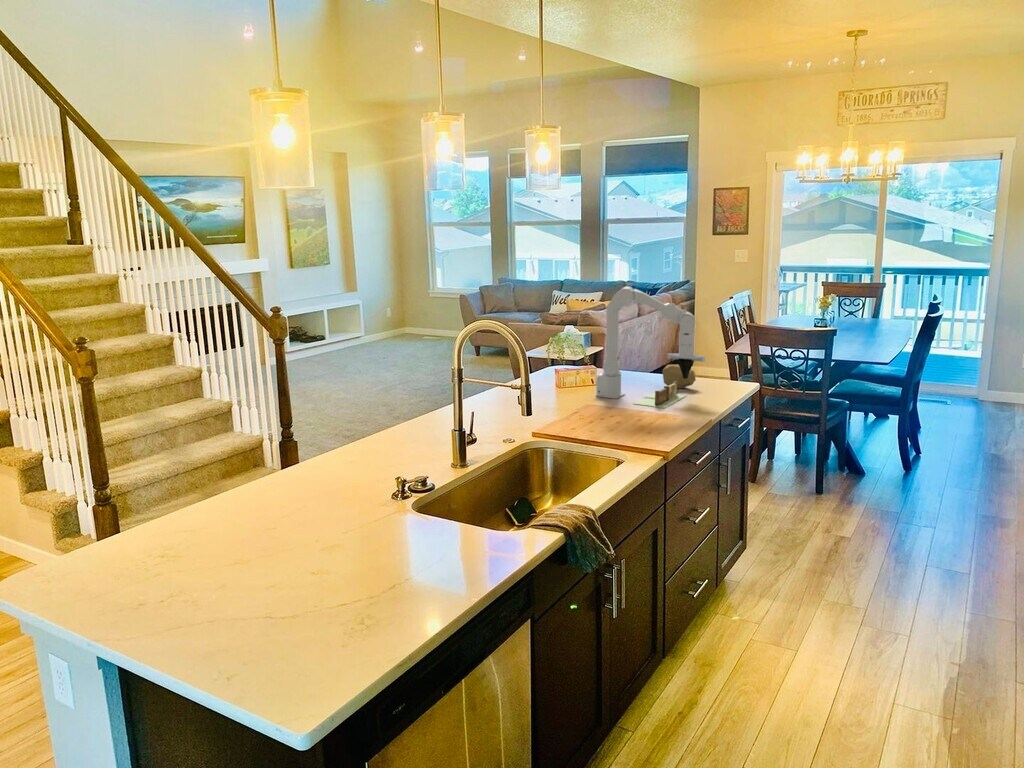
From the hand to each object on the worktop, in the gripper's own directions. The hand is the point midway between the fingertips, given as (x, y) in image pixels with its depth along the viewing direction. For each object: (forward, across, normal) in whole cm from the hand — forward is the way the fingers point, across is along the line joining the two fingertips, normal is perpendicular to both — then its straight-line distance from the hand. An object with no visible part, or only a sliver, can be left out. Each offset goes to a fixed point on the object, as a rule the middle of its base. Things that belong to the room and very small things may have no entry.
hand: (685, 378), depth 300 cm
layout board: (+8, +8, +6) cm, 13 cm away
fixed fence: (+8, +5, +11) cm, 15 cm away
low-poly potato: (+8, +9, -16) cm, 21 cm away
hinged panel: (+8, +5, +1) cm, 9 cm away
